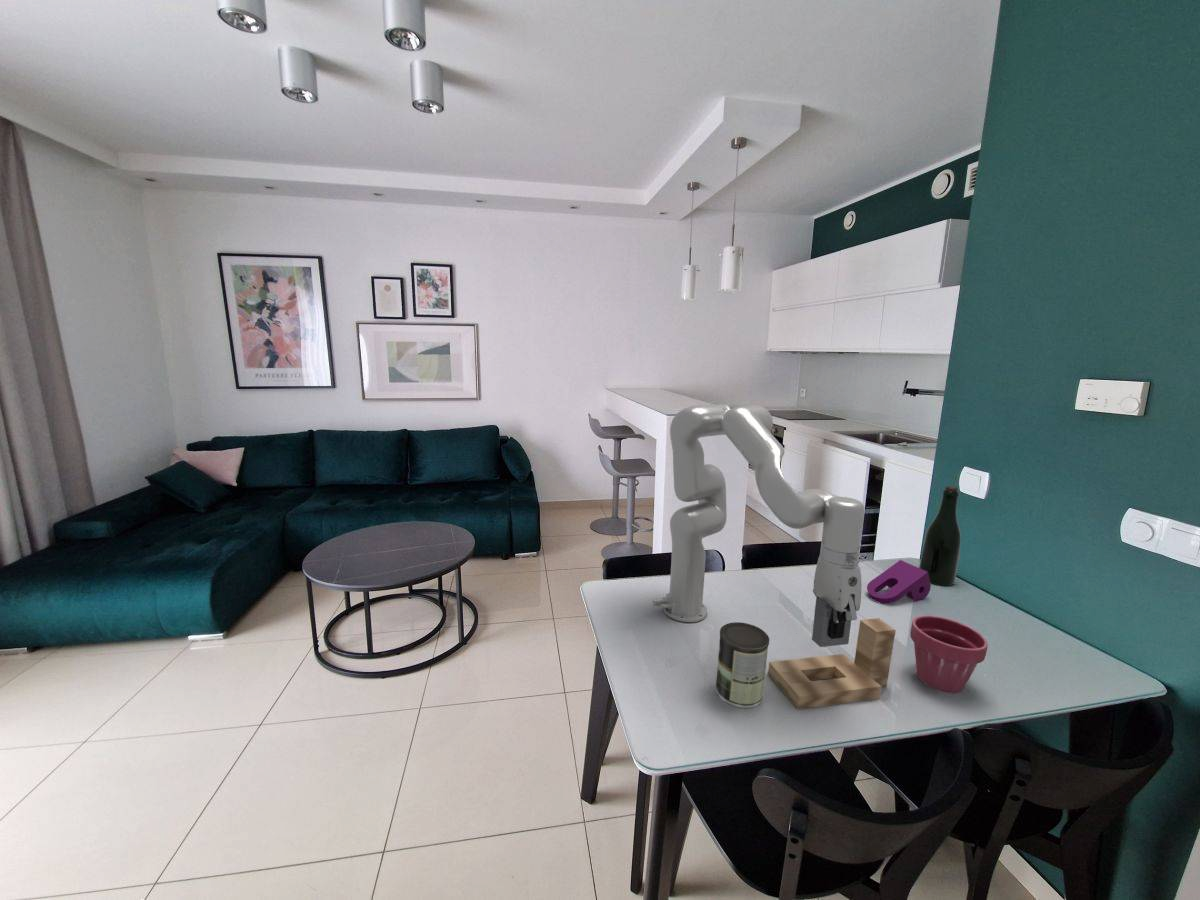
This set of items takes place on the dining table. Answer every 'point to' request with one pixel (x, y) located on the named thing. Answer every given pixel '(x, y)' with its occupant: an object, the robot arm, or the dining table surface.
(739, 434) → the robot arm
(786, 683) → the wooden slotted base
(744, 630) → the coffee can
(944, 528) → the beer bottle
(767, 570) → the dining table surface
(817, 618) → the tall grey upright slab
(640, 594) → the dining table surface
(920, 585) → the mounting bracket
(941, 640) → the plant pot
